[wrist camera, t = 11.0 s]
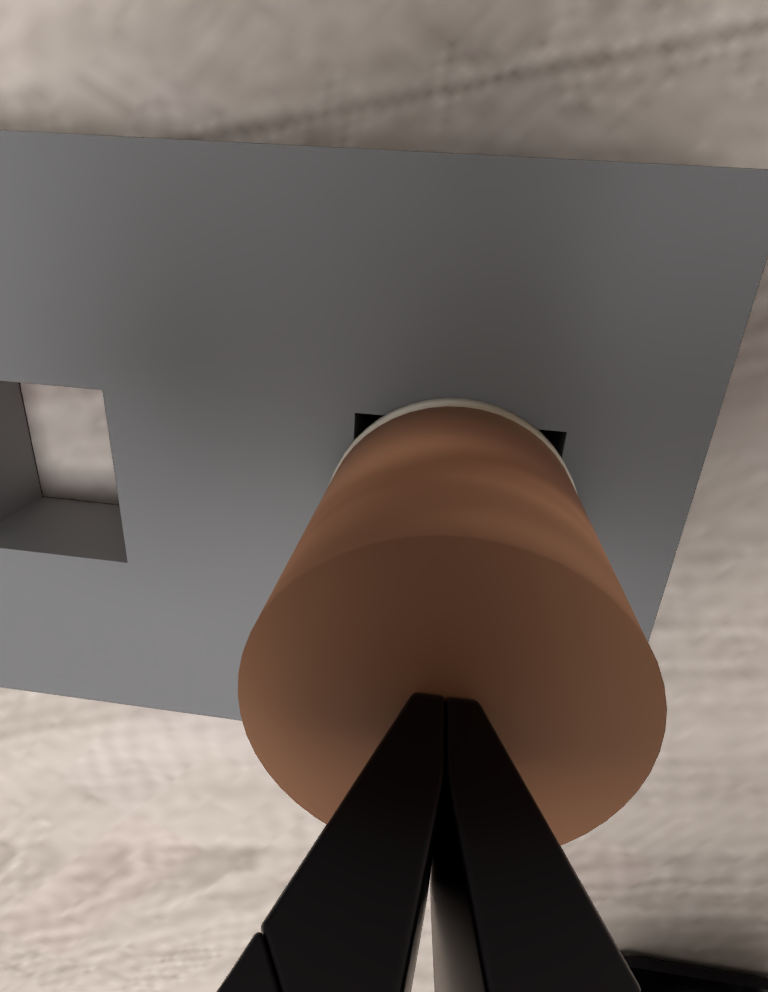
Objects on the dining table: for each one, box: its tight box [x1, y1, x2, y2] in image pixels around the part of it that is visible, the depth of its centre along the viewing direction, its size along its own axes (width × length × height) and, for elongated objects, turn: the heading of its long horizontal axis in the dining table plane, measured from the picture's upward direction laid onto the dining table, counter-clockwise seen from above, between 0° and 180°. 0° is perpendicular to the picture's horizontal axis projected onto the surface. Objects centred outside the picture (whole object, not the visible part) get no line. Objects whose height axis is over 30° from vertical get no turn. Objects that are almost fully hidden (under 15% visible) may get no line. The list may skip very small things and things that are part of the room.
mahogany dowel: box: [238, 398, 667, 845], centre depth 11 cm, size 6×6×9 cm
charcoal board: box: [0, 130, 768, 721], centre depth 15 cm, size 20×14×3 cm
